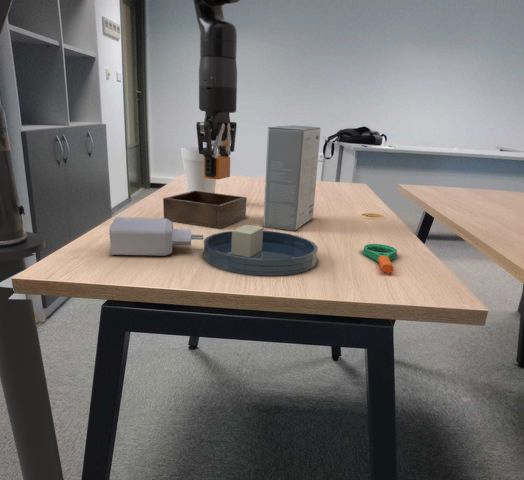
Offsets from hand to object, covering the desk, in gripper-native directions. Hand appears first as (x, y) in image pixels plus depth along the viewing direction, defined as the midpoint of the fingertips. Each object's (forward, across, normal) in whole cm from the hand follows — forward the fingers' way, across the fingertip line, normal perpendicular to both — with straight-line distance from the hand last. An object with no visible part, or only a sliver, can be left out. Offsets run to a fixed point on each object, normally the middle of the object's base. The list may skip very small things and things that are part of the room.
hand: (217, 174), depth 101 cm
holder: (+10, 0, -3) cm, 10 cm away
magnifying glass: (+10, +12, +39) cm, 42 cm away
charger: (+10, +27, +3) cm, 29 cm away
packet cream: (+9, +22, +17) cm, 29 cm away
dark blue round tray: (+10, +22, +19) cm, 31 cm away
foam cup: (+10, -16, -13) cm, 23 cm away
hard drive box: (+10, -8, +14) cm, 19 cm away
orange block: (0, 0, 0) cm, 0 cm away
